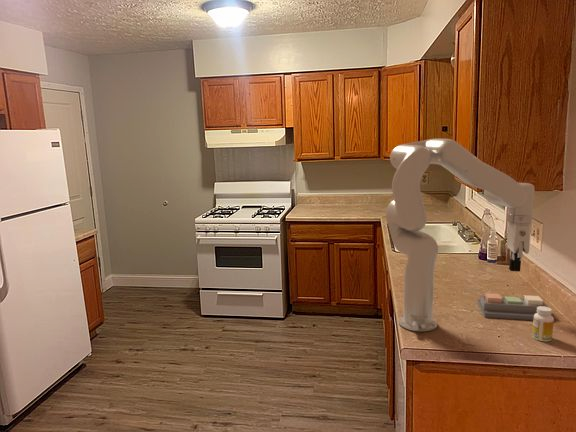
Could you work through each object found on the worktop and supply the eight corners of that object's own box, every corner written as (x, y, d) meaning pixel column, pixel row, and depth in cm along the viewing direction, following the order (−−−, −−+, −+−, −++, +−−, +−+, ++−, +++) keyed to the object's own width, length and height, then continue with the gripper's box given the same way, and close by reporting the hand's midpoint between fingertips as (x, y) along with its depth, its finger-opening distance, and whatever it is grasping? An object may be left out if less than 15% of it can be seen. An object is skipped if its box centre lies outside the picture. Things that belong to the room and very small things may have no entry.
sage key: (521, 310, 154) (522, 301, 153) (507, 309, 155) (507, 301, 154) (517, 305, 158) (518, 297, 157) (504, 304, 159) (504, 296, 158)
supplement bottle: (553, 337, 137) (556, 308, 135) (549, 343, 133) (552, 313, 131) (534, 332, 140) (536, 303, 139) (529, 338, 137) (532, 309, 135)
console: (551, 321, 148) (552, 310, 147) (484, 317, 153) (485, 306, 152) (538, 306, 161) (539, 296, 160) (477, 303, 165) (477, 293, 164)
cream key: (542, 309, 152) (543, 300, 151) (527, 308, 153) (528, 300, 152) (537, 304, 156) (538, 296, 156) (523, 303, 157) (524, 295, 157)
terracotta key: (501, 307, 155) (502, 298, 154) (487, 306, 156) (488, 297, 155) (498, 302, 159) (499, 293, 159) (484, 301, 160) (485, 293, 160)
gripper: (538, 223, 142) (532, 278, 146) (524, 215, 157) (520, 265, 160) (513, 222, 144) (508, 276, 147) (501, 214, 158) (497, 263, 162)
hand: (514, 270), depth 154 cm, fingers closed
